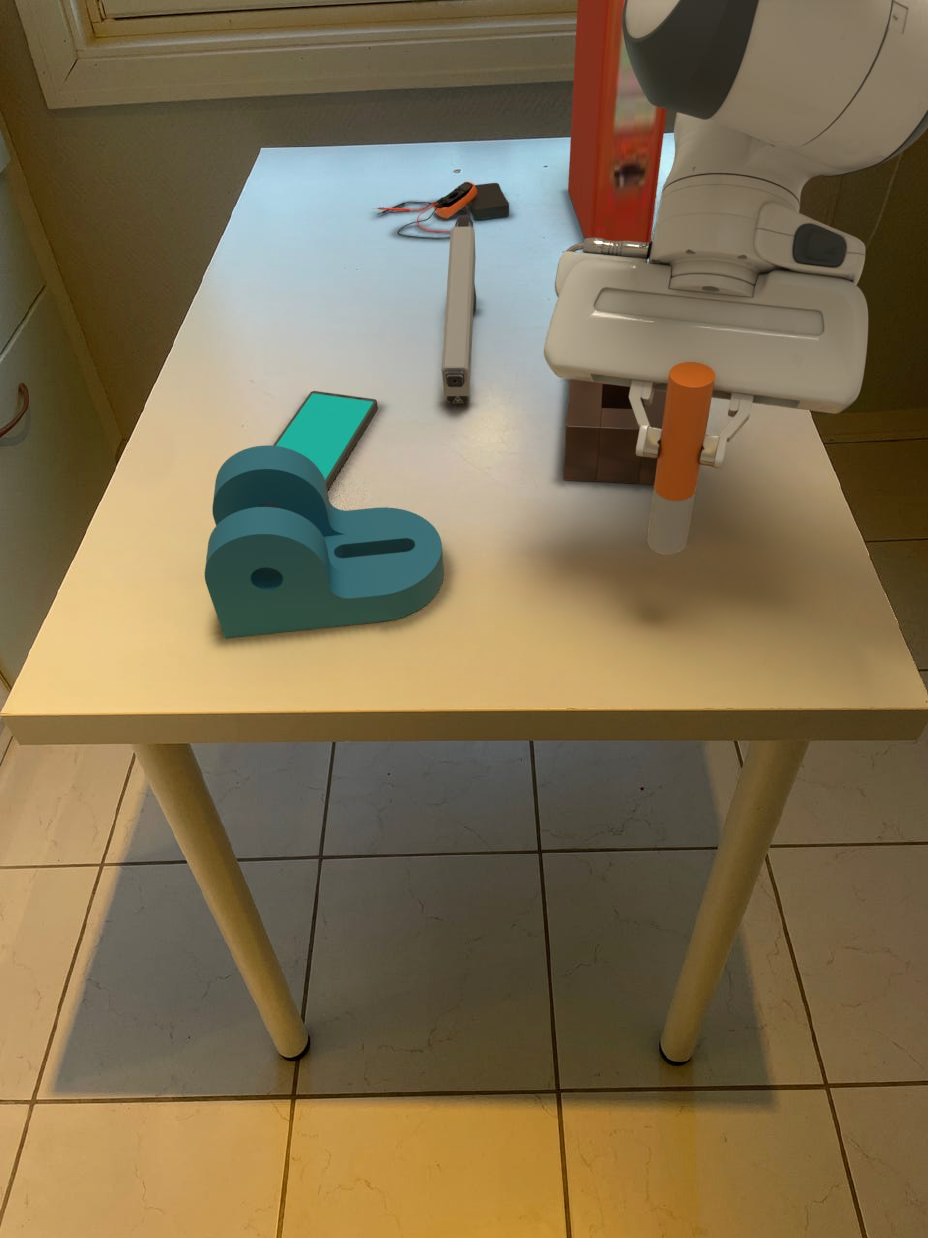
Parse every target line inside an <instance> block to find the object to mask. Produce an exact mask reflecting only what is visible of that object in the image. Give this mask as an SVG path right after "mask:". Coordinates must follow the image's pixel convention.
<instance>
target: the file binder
mask: <svg viewBox="0 0 928 1238" xmlns="http://www.w3.org/2000/svg"><path fill="white" fill-rule="evenodd" d="M624 3H625V0H577V9H576V24H575V26H576V27H575V46H574V47H575V48H574V67H573V85H572V103H571V104H572V105H571V106H572V107H571V122H570V124H571V126H570V143H569V144H570V145H569V162H568V163H569V165H568V166H569V167H568V168H569V169H568V181H567V182H568V183H567V192H568V195H569V198H570V199H571V203H572V206H573V210H574V212H575V215H576V217H577V221H578V223H579V226H580V229H581V233H582V234H583V235H582V236H583V238H584V240H585V239H586V238H602V239H605V240H609V241H637V242H648V243H649V242H650V243H651V241H652V236H653V235H652V234H653V227H654V217H655V209H656V200H657V193H658V183H659V177H660V168H661V160H662V159H661V158H662V152H663V143H664V134H665V127H666V120H667V119H666V117H667V111H668V109H664V108H660V107H657V106H654V105H652V104H651V103H650V102H649V101H648V99H647V98H646V96H645V94H644V92H643V90H642V89H641V87H640V85H639V82H638V80H637V78H636V76H635V74H634V71H633V69H632V66H631V63H630V60H629V57H628V53H627V50H626V45H625V41H624V35H623V29H622V14H623V8H624Z"/></svg>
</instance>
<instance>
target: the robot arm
mask: <svg viewBox="0 0 928 1238" xmlns="http://www.w3.org/2000/svg"><path fill="white" fill-rule="evenodd" d="M622 29H623V35H624V41H625V45H626V50H627V53H628V57H629V60H630V63H631V66H632V69H633V71H634V74H635V76H636V78H637V80H638V82H639V85H640V87H641V89H642V90H643V92H644V94H645V96H646V98H647V99H648V101H649V102H650V103H651V104H652V105H654V106H657V107H660V108H664V109H667V111H671V112H675V114H676V115H675V119H674V125H673V140H674V142H673V143H674V157H673V162H672V165H671V170H670V171H669V173H668V175H667V177H666V180H665V181H664V183H663V186H662V189H661V193H660V199H659V204H658V209H657V214H656V218H655V219H656V221H655V226H654V231H653V235H652V240H651V243H650V242H649V243H648V242H637V241H609V240H605V239H602V238H586V239H585V238H584V240H583V242H580V243H575V244H573V245H572V246H570V247H568V248H567V249H566V250H564V252H563V253H562V255H561V256H560V258H559V260H558V263H557V268H556V274H555V278H554V279H555V280H554V291H555V295H556V297H557V300H556V303H555V305H554V309H553V312H552V315H551V317H550V320H549V321H550V322H549V325H548V329H547V333H546V337H545V342H544V344H543V345H544V346H543V357H544V360H545V363H546V364H547V366H548V367H549V369H550V370H551V371H552V372H553V374H554V375H555V376H556V377H558V378H560V379H565V380H566V379H567V380H570V379H574V380H581V381H589V382H597V383H604V384H612V385H619V386H627V387H630V393H629V400H630V403H631V406H632V408H633V411H634V414H635V417H636V420H637V423H638V425H639V428H640V430H639V435H638V441H637V446H636V455H637V456H642V457H649V458H657V459H658V455H659V448H660V447H659V445H660V440H661V431H662V429H659V428H652V427H650V424H649V422H648V419H647V416H646V413H645V410H644V407H643V404H644V405H648V406H650V405H651V404H652V399H653V394H654V390H658V391H665V392H667V385H668V378H669V372H670V370H671V368H672V367H673V366H675V365H677V364H680V363H684V362H697V363H702V364H704V365H707V366H709V367H710V368H711V369H712V370H713V371H714V372H715V382H714V388H713V394H712V399H718V400H719V399H720V400H727V401H729V404H728V411H727V416H728V417H729V418H731V420H729V421H728V423H727V424H726V425H725V427H724V428H723V429H722V430H721V431H720V432H719V433H718V435H717V436H716V435H708V434H707V435H706V434H705V438H704V441H703V451H702V452H701V457H700V462H699V463H700V464H699V465H700V466H704V467H711V468H715V469H722V467H723V463H724V458H725V453H726V449H727V444H728V443H730V442H731V440H732V439H733V438H734V437H735V436H736V435H737V433H738V432H739V431H740V430H741V429H742V428H743V426H745V424H746V423H747V422H748V421H749V419H750V416H751V412H752V407H753V404H756V405H757V404H758V405H764V406H765V405H767V406H773V407H780V408H788V409H796V410H803V411H811V412H817V413H818V412H819V413H827V414H834V415H835V414H840V413H841V412H843V411H844V410H846V409H847V408H849V407H850V406H851V405H852V404H853V403H854V402H855V401H856V400H857V399H858V397H859V395H860V393H861V389H862V385H863V380H864V375H865V367H866V360H867V351H868V340H869V339H868V338H869V337H868V336H869V309H868V303H867V299H866V296H865V295H864V293H863V291H862V290H861V288H860V287H859V286H858V283H859V281H860V279H861V276H862V274H863V271H864V266H865V261H866V245H865V243H864V242H863V241H862V240H861V239H859V238H858V237H856V236H854V235H852V234H849V233H847V232H844V231H841V230H839V229H836V228H834V227H832V226H829V225H828V224H825V223H823V222H820V221H818V220H815V219H813V218H811V217H809V216H807V215H805V214H804V213H801V212H800V209H801V195H802V190H803V188H804V186H805V185H806V183H807V182H809V181H810V180H811V179H813V178H815V177H818V176H820V177H823V178H835V177H840V176H841V177H842V176H847V175H850V174H855V173H858V172H861V171H865V170H868V169H871V168H874V167H876V166H879V165H882V164H883V163H886V162H888V161H889V160H891V159H893V158H894V157H897V156H898V155H899V154H901V153H902V152H903V151H905V150H907V149H908V148H909V147H910V146H912V145H913V144H914V143H915V142H916V141H917V140H918V139H919V138H920V137H921V136H922V135H924V133H925V132H926V131H927V129H928V0H625V3H624V8H623V14H622ZM581 250H582V252H580V251H581Z"/></svg>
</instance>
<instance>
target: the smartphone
mask: <svg viewBox="0 0 928 1238" xmlns="http://www.w3.org/2000/svg"><path fill="white" fill-rule="evenodd" d="M377 410H378V400H377V399H376V398H370V397H369V398H368V397H363V396H362V397H361V396H356V395H355V396H354V395H347V394H341V393H333V392H326V391H319V390H312V391H310V393H309V394H307V397H306V398H305V399H304V401H303V403H302V404H301V405H300V406H299V408H298V409H297V411H296V412H295V414H293V416H292V418H291V419H290V421H289V422H288V423H287V425H286V426H285V428H284V429H283V431H282V432H281V434H279V436H278V438H277V439H276V440H275V442H274V443H273V445H272V446H279V447H284V448H288V449H291V450H294V451H296V452H298V453H300V454H302V455H304V456H305V457H307V458H308V459H310V460H311V461H312V462H313V463H314V464H315V465H316V466H317V467H318V468H319V470H320V471H321V473H322V475H323V477H324V479H325V483H326V488H327V491H328V490H329V488H330V486H331V485H332V483H333V482H334V480H335V479H336V477H337V475H338V474H339V472H340V470H341V469H342V467H343V465H344V464H345V462H346V460H347V459H348V457H349V456H350V454H351V452H352V451H353V449H354V447H355V446H356V444H357V442H358V441H359V439H360V438H361V436H362V435H363V433H364V431H365V429H366V428H367V426H368V425H369V423H370V422H371V419H372V418H373V417H374V415H375V413H376V411H377Z"/></svg>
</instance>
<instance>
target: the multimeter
mask: <svg viewBox="0 0 928 1238" xmlns="http://www.w3.org/2000/svg"><path fill="white" fill-rule="evenodd" d="M410 203H413V204H427V205H425V206H423V207H421V208H418V209H412V208H408V207H407V208H405V207H404V208H403V206H405V205H406V204H410ZM430 205H432V206H430ZM428 206H430V207H428ZM468 206H469V207H468ZM427 207H428V208H427ZM464 207H465V208H466V210H467V211H465V210H462V209H463V208H464ZM469 208H470V209H469ZM373 209H376V210H380V211H381V212H379V213H377V214H376V215H381V214H385V213H387V212H390V211H400V212H410V211H421V210H423V211H421V213H420V214H418V216H417V218H416V221H413V222H410V223H406V224H405V225H403V226H402V227H400V228H399V229H398V230H397V232H396V234H397V235H400V236H403V237H407V238H417V239H435V240H440V239H441V240H442V239H443V240H445V239H450V236H448V237H447V236H446V237H445V236H444V237H433V236H432V237H430V236H429V237H428V236H416V235H407V234H402V233H399V232H400V231H401V230H402V229H404V228H405V227H408V226H410V225H413V224H416V223H417V225H418V226H419V227H420V228H421V229H422V230H425V231H428V232H434V233H435V232H437V233H451V230H433V229H428V228H425V227H423V226H422V225H421V224H420V223H423V222H426V221H428V220H429V219H430V218H431V217H432V216H433V215H434V213H435V214H436V215H437V216H438V217H440V218H442V219H449V218H450V217H452V216H453V215H454V214H456V213H457V212H463V213H465V214H466V215H469V216H470V217H471V214H470V210H471V213H472V216H473V218H474V219H475V220H482V219H491V218H498V217H506V216H507V217H508V216H509V215H510V203H509V201H508V199H507V198H506V196H505V194H504V193H503V190H502V189H501V185H500V184H499V183H498V182H489V183H481V184H475V183H473V182H471V181H464V182H462V183H461V184H459V185H458V186H456V188H454V189H453V190H452V191H451V192H449V193H448V194H447V195H445V196H442V197H440V198H439V199H437V200H436V201H432V202H429V201H406V202H402V203H399V204H397V205H395V206H392V207H384V206H383V207H373ZM424 209H425V210H424ZM430 209H434V210H433V211H432V213H431V214H430V215H429V217H427V218H426V219H422V220H419V218H420V216H421V215H422V214H424V213H426V212H427V211H428V210H430Z"/></svg>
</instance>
